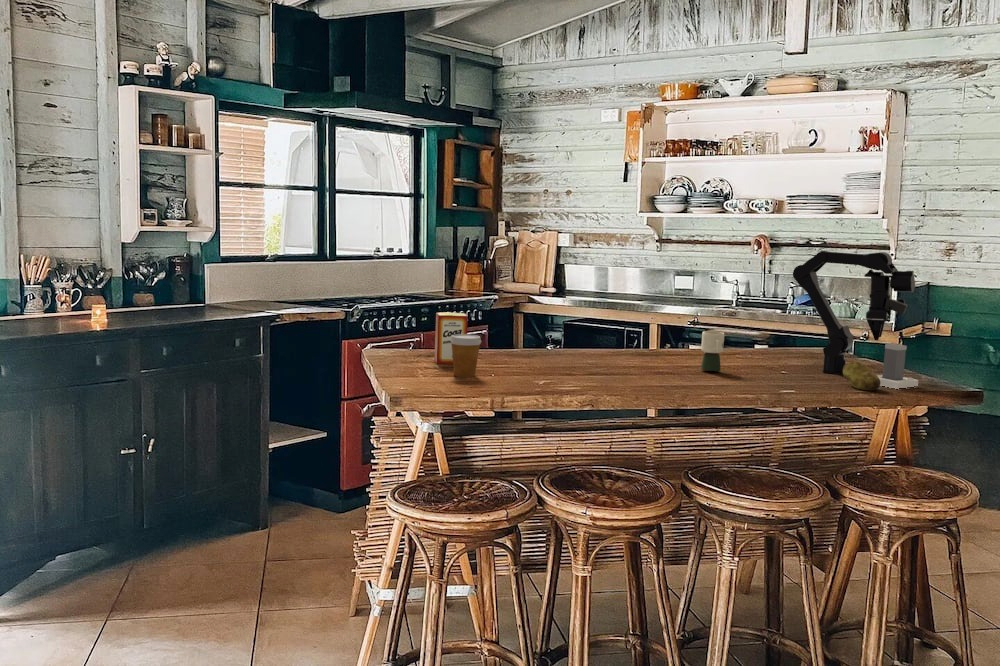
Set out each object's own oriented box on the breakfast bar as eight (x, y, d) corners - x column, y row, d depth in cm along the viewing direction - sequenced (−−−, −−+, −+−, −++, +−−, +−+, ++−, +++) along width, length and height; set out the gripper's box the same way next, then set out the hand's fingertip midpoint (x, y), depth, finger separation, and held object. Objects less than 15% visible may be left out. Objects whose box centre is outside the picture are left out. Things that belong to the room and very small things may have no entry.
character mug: (726, 375, 318) (729, 335, 316) (705, 374, 317) (708, 334, 315) (715, 368, 328) (718, 330, 326) (694, 368, 327) (697, 329, 326)
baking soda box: (463, 360, 324) (464, 312, 321) (465, 363, 317) (467, 314, 315) (434, 360, 322) (436, 311, 320) (436, 363, 316) (438, 314, 313)
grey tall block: (881, 382, 313) (885, 344, 311) (890, 381, 316) (894, 343, 314) (894, 385, 309) (898, 346, 307) (902, 384, 312) (906, 345, 310)
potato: (856, 392, 298) (859, 366, 297) (837, 383, 311) (839, 358, 310) (882, 392, 299) (885, 366, 298) (862, 384, 312) (864, 359, 311)
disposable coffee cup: (473, 372, 304) (475, 333, 302) (484, 378, 295) (486, 338, 293) (444, 372, 300) (446, 334, 299) (454, 378, 292) (455, 339, 290)
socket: (866, 383, 314) (867, 374, 314) (887, 380, 320) (888, 372, 320) (896, 389, 305) (897, 381, 305) (917, 387, 311) (918, 378, 311)
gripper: (904, 293, 308) (902, 343, 310) (908, 289, 325) (906, 336, 326) (866, 292, 313) (864, 341, 315) (872, 288, 330) (870, 335, 331)
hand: (877, 338), depth 322 cm, fingers open, 9 cm apart
